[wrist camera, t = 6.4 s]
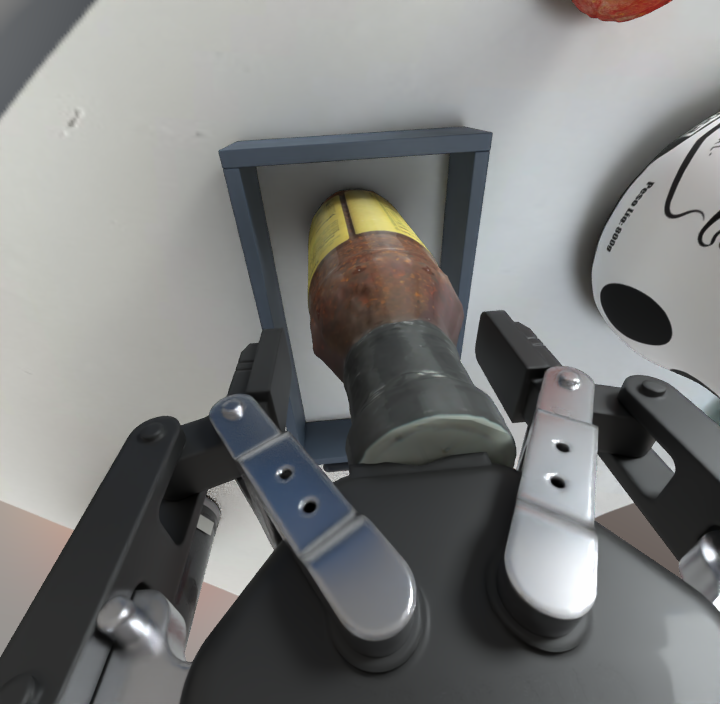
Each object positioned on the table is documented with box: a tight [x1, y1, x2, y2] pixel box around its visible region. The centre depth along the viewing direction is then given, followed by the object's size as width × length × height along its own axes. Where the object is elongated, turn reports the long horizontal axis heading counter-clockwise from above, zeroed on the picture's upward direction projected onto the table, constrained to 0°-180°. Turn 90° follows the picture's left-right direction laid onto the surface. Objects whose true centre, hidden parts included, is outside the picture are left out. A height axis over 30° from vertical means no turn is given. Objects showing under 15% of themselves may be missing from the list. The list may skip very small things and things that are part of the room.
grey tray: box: [219, 127, 493, 472], centre depth 27 cm, size 14×26×4 cm, turn 3°
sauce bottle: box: [308, 189, 516, 468], centre depth 17 cm, size 6×6×20 cm
